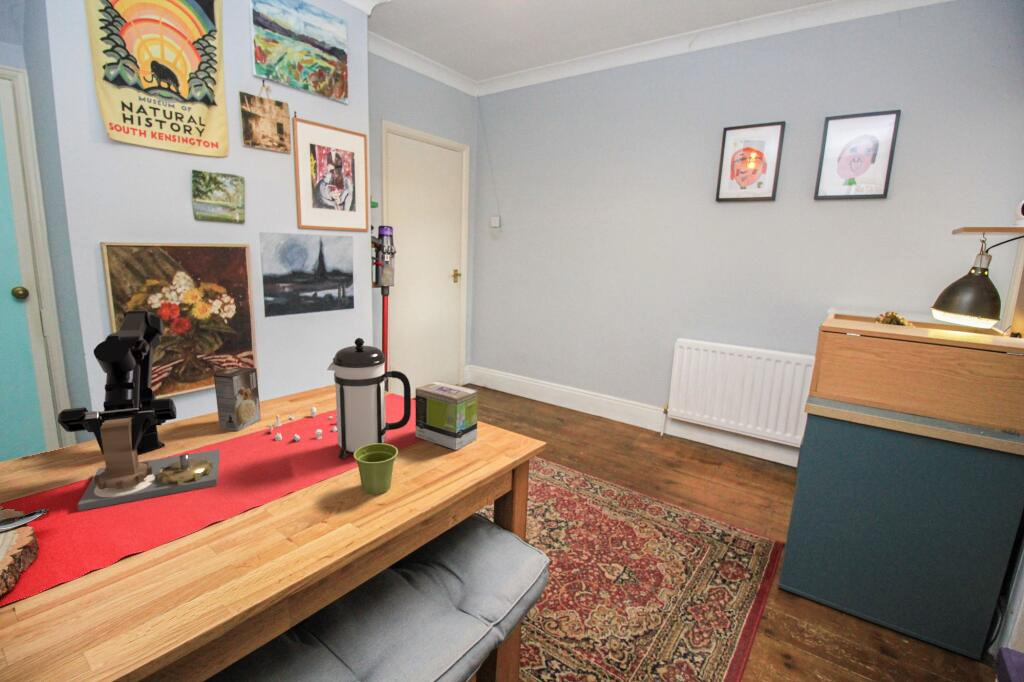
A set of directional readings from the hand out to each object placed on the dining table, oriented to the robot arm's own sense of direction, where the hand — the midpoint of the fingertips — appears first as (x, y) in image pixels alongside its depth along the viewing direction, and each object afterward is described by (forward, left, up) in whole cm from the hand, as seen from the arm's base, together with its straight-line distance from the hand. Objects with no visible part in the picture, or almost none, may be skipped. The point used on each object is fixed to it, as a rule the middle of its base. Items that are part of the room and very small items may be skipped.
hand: (119, 452), depth 96 cm
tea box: (+37, +61, -10) cm, 72 cm away
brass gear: (+4, +10, -8) cm, 13 cm away
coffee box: (-17, +34, -10) cm, 39 cm away
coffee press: (+24, +44, -10) cm, 51 cm away
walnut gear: (-1, +1, -7) cm, 7 cm away
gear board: (-1, +6, -10) cm, 12 cm away
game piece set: (0, +43, -10) cm, 44 cm away
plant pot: (+41, +31, -10) cm, 52 cm away
